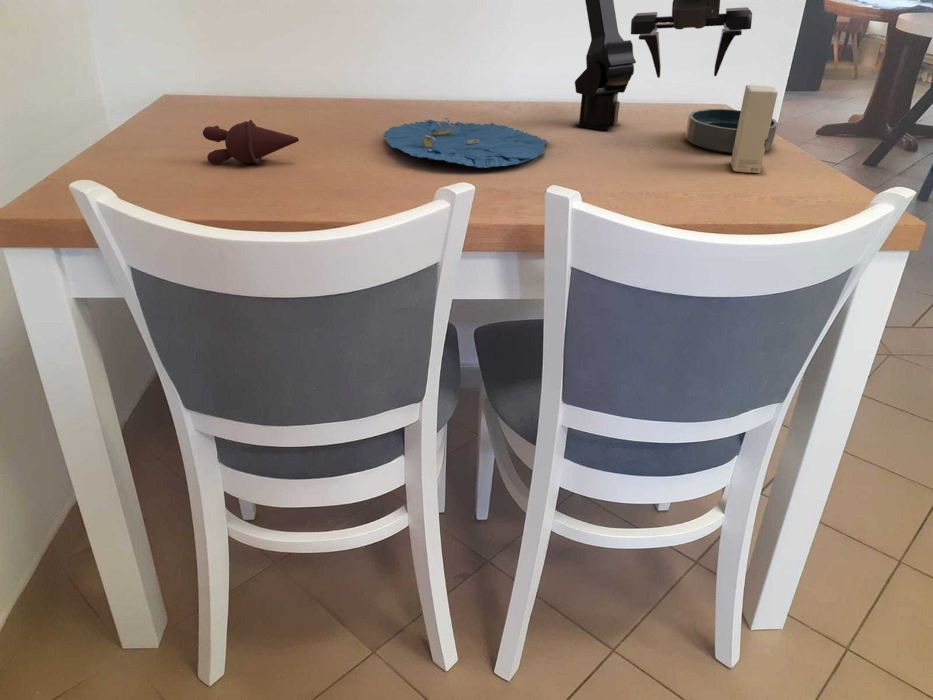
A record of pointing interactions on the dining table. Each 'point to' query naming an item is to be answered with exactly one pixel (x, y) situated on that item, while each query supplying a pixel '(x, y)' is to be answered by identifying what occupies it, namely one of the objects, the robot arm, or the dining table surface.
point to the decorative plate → (466, 143)
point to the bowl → (719, 129)
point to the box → (753, 128)
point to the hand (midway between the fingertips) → (686, 76)
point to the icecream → (246, 142)
